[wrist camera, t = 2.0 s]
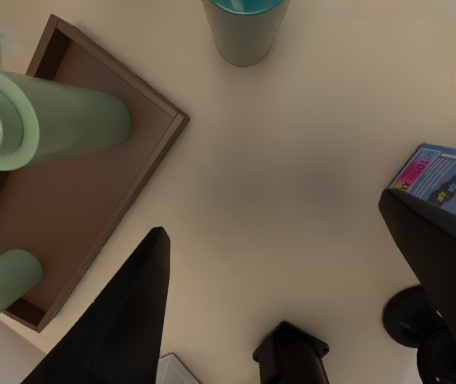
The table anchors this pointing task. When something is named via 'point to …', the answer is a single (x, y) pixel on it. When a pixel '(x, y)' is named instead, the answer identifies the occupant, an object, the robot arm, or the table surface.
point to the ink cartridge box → (431, 176)
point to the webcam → (423, 335)
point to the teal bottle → (244, 27)
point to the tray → (80, 174)
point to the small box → (173, 372)
